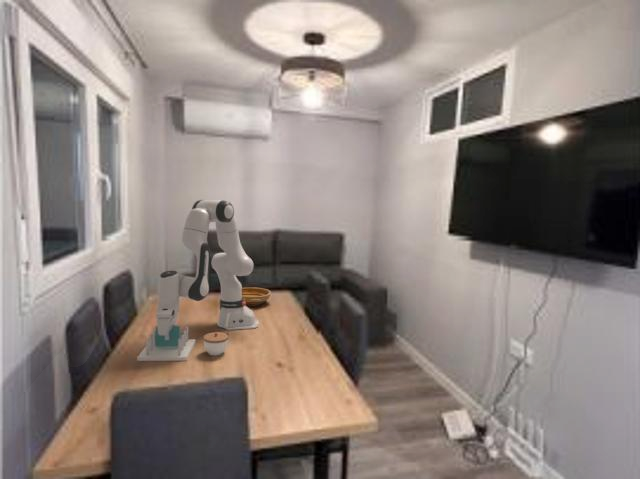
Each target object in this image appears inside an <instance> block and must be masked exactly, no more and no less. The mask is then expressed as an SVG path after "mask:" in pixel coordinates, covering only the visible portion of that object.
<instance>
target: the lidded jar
mask: <svg viewBox="0 0 640 479" xmlns="http://www.w3.org/2000/svg"><path fill="white" fill-rule="evenodd" d="M228 341H229V335H228V334H227V333H225V332H221V331H220V332H219V331H215V332H208V333H206V334H204V335H203V346H204V349H205V351H206V353H207V354H208V355H209V356H215V357H216V356H220V355H222V354H223V353H224V352H225V351H226V350H227V347H228V343H229V342H228Z"/></svg>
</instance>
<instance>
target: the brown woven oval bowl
mask: <svg viewBox="0 0 640 479" xmlns="http://www.w3.org/2000/svg"><path fill="white" fill-rule="evenodd" d="M271 294H272V291H271V290H269V289H268V288H263V287H242V299H243V300H244V299H245V302H246V304H245V306H246V307H257V306H261V304H262V303H264V302H267V301H268V300H269V298H270V296H271Z"/></svg>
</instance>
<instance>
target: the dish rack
mask: <svg viewBox="0 0 640 479" xmlns="http://www.w3.org/2000/svg"><path fill="white" fill-rule="evenodd" d="M152 331H153V333H152V334H151V333H150V334H149V338H146V341H145V342H146V343H145V345H146V346H144V348H143V349H142V351H141V352H140V353H139V355H137V357H136V361H137V362H139V361H140V362H143V361H144V362H146V361H148V362H149V361H150V362H151V361H153V362H155V361H156V362H157V361H158V362H159V361H160V362H161V361H163V362H164V361H167V362H168V361H169V362H170V361H171V362H173V361H175V362H176V361H178V362H179V361H181V362H182V361H184V362H185V361H188V359H189V358H190V357H189V356H190V354H191V352H192V350H193V348H194V347H195V344H196V338H195V339H192V338H191V339H189V326H185V330H183V331H182V334H181V337H180V339H178V347H156V329H154V330H152Z"/></svg>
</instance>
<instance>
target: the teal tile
mask: <svg viewBox="0 0 640 479" xmlns="http://www.w3.org/2000/svg"><path fill="white" fill-rule="evenodd" d="M181 327H182V325H173V327H172V329H171V330H170V332H169V335H170V339H169V340H165V336H160V335H159V334H158V329H157V325H156V326H155V330H156V347H178V339H181V335H182V334H181V331H182V330H181Z"/></svg>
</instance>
